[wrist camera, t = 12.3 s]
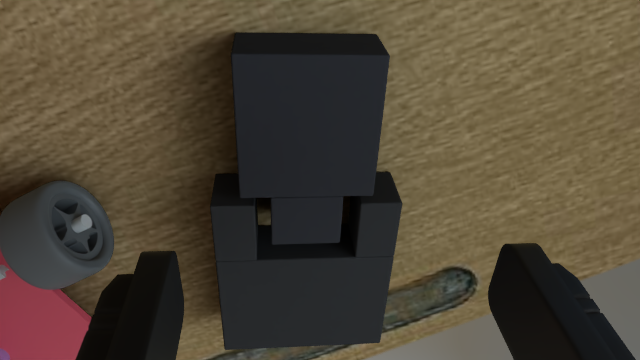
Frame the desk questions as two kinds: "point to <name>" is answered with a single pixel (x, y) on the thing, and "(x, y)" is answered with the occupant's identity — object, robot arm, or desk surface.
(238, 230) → the base pad
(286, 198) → the loose pad
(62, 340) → the toy car
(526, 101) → the desk surface
